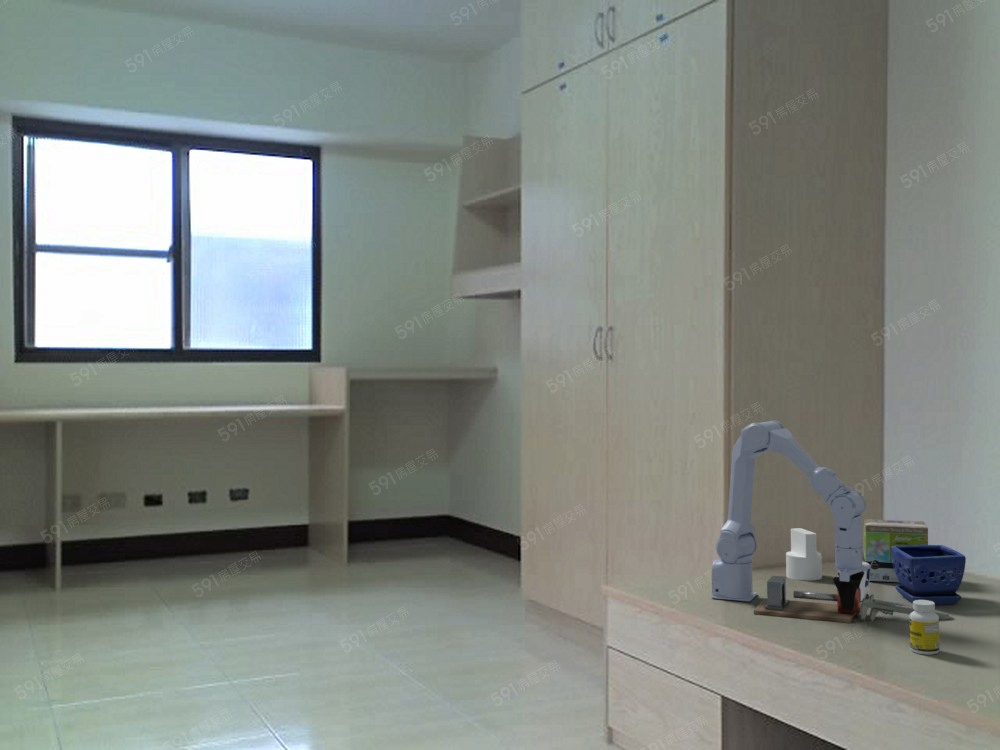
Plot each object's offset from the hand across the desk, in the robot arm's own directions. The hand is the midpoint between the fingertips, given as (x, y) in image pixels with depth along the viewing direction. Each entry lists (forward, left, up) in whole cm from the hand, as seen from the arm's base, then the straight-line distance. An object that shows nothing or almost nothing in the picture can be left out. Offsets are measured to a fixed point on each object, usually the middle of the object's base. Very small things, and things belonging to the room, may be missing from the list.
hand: (849, 606), depth 230 cm
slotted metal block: (-16, 0, -1) cm, 16 cm away
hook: (-5, 0, -1) cm, 5 cm away
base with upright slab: (-16, +36, -2) cm, 39 cm away
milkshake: (+1, +16, -2) cm, 16 cm away
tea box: (+6, +41, -2) cm, 42 cm away
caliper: (+12, +1, -2) cm, 12 cm away
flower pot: (+15, +21, -2) cm, 26 cm away
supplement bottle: (+17, -22, -2) cm, 28 cm away
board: (-10, 0, -2) cm, 10 cm away
